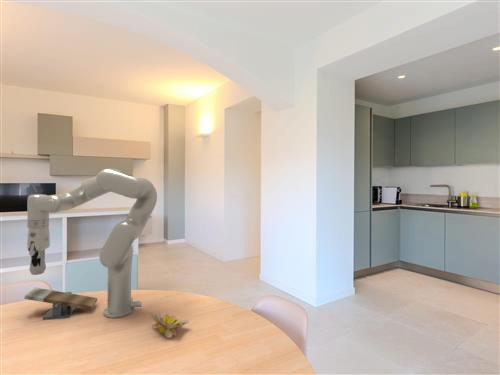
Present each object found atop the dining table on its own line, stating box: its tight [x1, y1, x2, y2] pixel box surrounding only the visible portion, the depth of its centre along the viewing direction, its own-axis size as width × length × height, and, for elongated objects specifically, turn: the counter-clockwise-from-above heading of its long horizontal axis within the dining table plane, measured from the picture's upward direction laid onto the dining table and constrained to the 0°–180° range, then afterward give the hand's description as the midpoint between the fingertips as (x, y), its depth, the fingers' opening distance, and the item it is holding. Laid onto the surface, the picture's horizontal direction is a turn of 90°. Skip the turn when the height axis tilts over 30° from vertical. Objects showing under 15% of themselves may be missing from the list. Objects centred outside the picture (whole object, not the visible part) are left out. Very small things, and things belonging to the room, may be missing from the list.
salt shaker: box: [29, 250, 47, 276], centre depth 126 cm, size 6×6×13 cm
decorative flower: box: [148, 311, 190, 339], centre depth 113 cm, size 15×11×10 cm
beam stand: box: [41, 291, 78, 321], centre depth 129 cm, size 10×14×6 cm
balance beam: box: [23, 287, 98, 311], centre depth 129 cm, size 26×9×2 cm, turn 104°
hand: (38, 266), depth 126 cm, fingers closed on salt shaker, 3 cm apart
